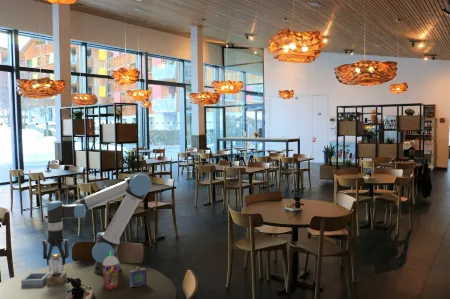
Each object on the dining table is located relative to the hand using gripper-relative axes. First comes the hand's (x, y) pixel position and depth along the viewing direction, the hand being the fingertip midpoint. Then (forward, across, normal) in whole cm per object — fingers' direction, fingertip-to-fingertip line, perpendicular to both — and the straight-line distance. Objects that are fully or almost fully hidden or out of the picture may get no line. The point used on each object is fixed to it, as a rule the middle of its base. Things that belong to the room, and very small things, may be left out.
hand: (56, 270), depth 213 cm
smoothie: (+7, +32, -11) cm, 34 cm away
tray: (+6, -11, 0) cm, 13 cm away
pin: (+6, 0, 0) cm, 6 cm away
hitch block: (+6, 0, 0) cm, 6 cm away
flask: (+7, +46, -10) cm, 48 cm away
